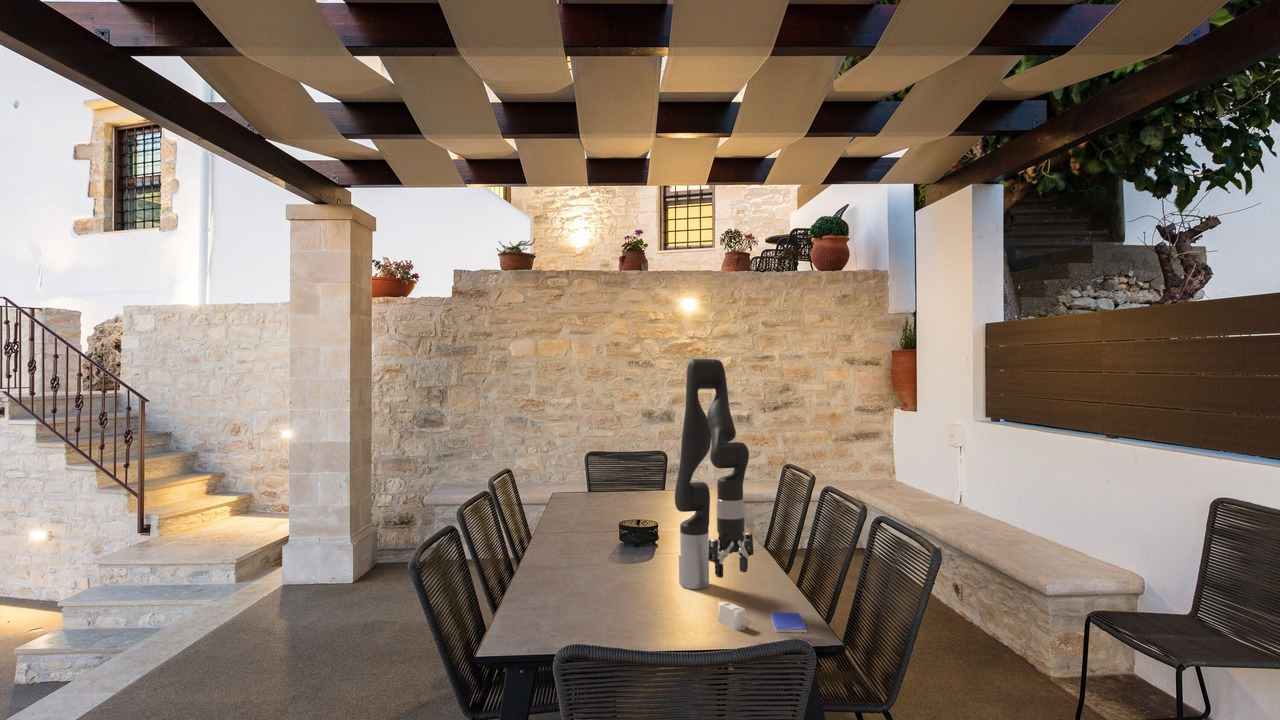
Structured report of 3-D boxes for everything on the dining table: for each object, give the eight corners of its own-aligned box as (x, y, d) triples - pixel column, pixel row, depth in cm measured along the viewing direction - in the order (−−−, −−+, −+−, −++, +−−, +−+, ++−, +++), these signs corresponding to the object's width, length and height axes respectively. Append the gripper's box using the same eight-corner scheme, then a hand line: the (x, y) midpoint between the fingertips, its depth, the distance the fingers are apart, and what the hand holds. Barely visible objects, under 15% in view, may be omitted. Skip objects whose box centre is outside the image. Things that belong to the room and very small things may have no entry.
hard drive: (807, 628, 184) (799, 612, 197) (776, 628, 185) (770, 611, 197) (807, 634, 184) (799, 618, 197) (776, 634, 185) (770, 617, 197)
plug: (716, 621, 193) (715, 603, 193) (725, 618, 195) (725, 600, 195) (743, 633, 184) (743, 614, 184) (753, 630, 186) (752, 612, 186)
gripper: (740, 509, 198) (741, 567, 197) (701, 516, 190) (702, 575, 189) (759, 514, 191) (760, 573, 191) (719, 520, 184) (720, 582, 183)
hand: (731, 574), depth 190 cm, fingers open, 8 cm apart
